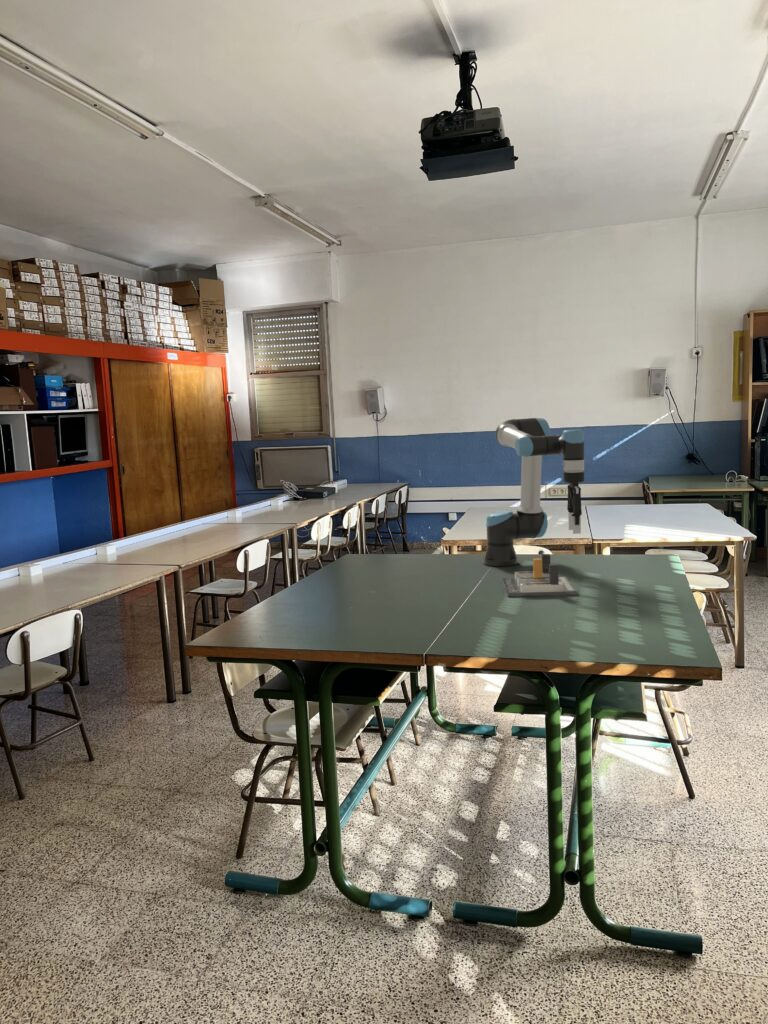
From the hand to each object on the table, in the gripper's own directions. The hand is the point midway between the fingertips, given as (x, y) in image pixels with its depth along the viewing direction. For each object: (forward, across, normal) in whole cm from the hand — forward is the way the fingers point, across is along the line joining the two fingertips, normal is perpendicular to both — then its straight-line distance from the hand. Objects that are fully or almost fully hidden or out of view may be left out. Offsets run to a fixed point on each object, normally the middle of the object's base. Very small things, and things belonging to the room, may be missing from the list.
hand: (574, 531), depth 281 cm
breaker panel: (+21, 0, -14) cm, 26 cm away
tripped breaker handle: (+17, 0, -14) cm, 22 cm away
